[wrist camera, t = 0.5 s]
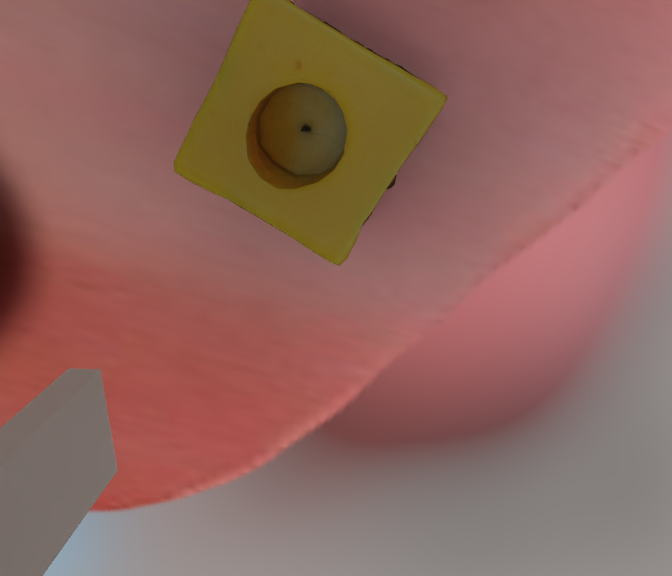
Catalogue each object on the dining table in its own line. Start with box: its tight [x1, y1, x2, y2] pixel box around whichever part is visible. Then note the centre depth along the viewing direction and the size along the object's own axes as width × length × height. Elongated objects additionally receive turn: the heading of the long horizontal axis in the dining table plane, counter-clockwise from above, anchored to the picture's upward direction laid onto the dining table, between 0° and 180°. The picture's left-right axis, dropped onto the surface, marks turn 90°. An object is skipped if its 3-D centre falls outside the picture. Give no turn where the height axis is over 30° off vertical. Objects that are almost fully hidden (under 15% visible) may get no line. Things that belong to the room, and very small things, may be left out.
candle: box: [174, 0, 447, 265], centre depth 32 cm, size 10×10×10 cm
